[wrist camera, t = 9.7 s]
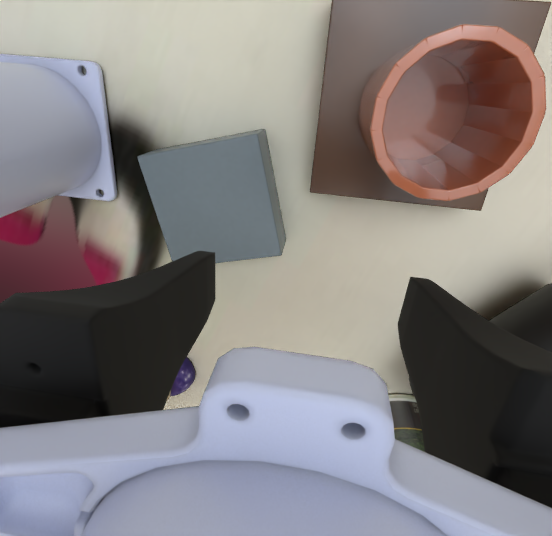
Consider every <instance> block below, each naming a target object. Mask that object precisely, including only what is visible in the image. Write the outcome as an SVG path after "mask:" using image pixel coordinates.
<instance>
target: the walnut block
mask: <svg viewBox="0 0 552 536" xmlns="http://www.w3.org/2000/svg"><path fill="white" fill-rule="evenodd" d="M550 5H551V2H543V1H526V0H332V7H331V15H330V24H329V32H328V41H327V49H326V58H325V67H324V75H323V84H322V92H321V101H320V110H319V118H318V127H317V135H316V144H315V152H314V161H313V170H312V178H311V187H310V192H311V193H320V194H330V195H339V196H348V197H358V198H367V199H376V200H386V201H395V202H404V203H413V204H423V205H432V206H441V207H451V208H460V209H469V210H479V211H480V210H481V209H482V206H483V203H484V200H485V197H486V194H487V191H488V188H487V189H486V190H484V191H482V192H479V193H478V194H474V195H471V196H467V197H463V198H459V199H455V200H451V201H441V200H431V199H422V198H418V197H415V196H413V195H412V194H410V193H408V192H406V191H405V190H403V189H401V188H399V187H397V186H396V185H394V184H393V183H392V182H391V181H390V179H389V178H388V176H387V175H386V174H385V172H384V171H383V170H382V168H381V167H380V165H379V164H378V163H377V161H376V160H375V158H374V156H373V155H372V153H371V151H370V150H369V148H368V146H367V145H366V143H365V141H364V139H363V136H362V133H361V129H360V125H359V104H360V100H361V96H362V93H363V90H364V88H365V86H366V84H367V82H368V80H369V79H370V77H371V76H372V74H373V73H374V72H375V70H376V69H377V68H378V67H379V66H380V65H381V64H382V63H383V62H385V61H386V60H387V59H389V58H390V57H391V56H392V55H393V54H395V53H396V52H398V51H400V50H402V49H404V48H406V47H408V46H410V45H412V44H414V43H416V42H418V41H420V40H422V39H424V38H426V37H428V36H431V35H433V34H436V33H439V32H441V31H444V30H447V29H450V28H452V27H455V26H458V25H463V24H473V25H488V26H498V27H501V28H503V29H504V30H506V31H508V32H509V33H511V34H512V35H514V36H516V37H517V38H519V39H521V40H522V41H524V42H525V43H527V44H528V45H529V46H530V48H531V50H532V52H533V54H534V52H535V49H536V46H537V43H538V40H539V37H540V34H541V31H542V29H543V26H544V23H545V20H546V17H547V14H548V11H549V8H550Z"/></svg>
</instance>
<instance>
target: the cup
mask: <svg viewBox="0 0 552 536" xmlns="http://www.w3.org/2000/svg"><path fill="white" fill-rule="evenodd" d="M545 110H546V92H545V76H544V72H543V70H542V68H541V67H540V65H539V63H538V61H537V59H536V57H535V55H534V54H533V52H532V50H531V48H530V46H529V45H528V44H527V43H525V42H524V41H522V40H521V39H519V38H517V37H516V36H514V35H512V34H511V33H509V32H508V31H506V30H504V29H503V28H501V27H498V26H488V25H473V24H463V25H458V26H455V27H452V28H450V29H447V30H444V31H441V32H439V33H436V34H433V35H431V36H428V37H426V38H424V39H422V40H420V41H418V42H416V43H414V44H412V45H410V46H408V47H406V48H404V49H402V50H400V51H398V52H396V53H395V54H393V55H392V56H391V57H390V58H389V59H387V60H386V61H385V62H383V63H382V64H381V65H380V66H379V67H378V68H377V69H376V70H375V72H374V73H373V74H372V76H371V77H370V79H369V80H368V82H367V84H366V86H365V88H364V90H363V93H362V96H361V100H360V104H359V125H360V129H361V133H362V136H363V139H364V141H365V143H366V145H367V146H368V148H369V150H370V151H371V153H372V155H373V156H374V158H375V160H376V161H377V163H378V164H379V165H380V167H381V168H382V170H383V171H384V172H385V174H386V175H387V176H388V178H389V179H390V181H391V182H392V183H393V184H394V185H396V186H397V187H399V188H401V189H403V190H405V191H406V192H408V193H410V194H412V195H413V196H415V197H418V198H422V199H431V200H441V201H451V200H455V199H459V198H463V197H467V196H471V195H474V194H478V193H479V192H482V191H484V190H486V189H487V188H489V187H490V186H492V185H493V184H495V183H496V182H498V181H499V180H501V179H503V178H504V177H506V176H507V175H509V173H511V172H512V170H513V169H514V168H515V167H516V166H517V164H518V163H519V162H520V161H521V160H522V158H523V157H524V156H525V155H526V153H527V152H528V151H529V150H530V149H531V147H532V145H533V144H534V142H535V139H536V136H537V134H538V131H539V128H540V126H541V123H542V120H543V118H544V115H545Z"/></svg>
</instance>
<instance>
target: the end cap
mask: <svg viewBox="0 0 552 536" xmlns="http://www.w3.org/2000/svg"><path fill="white" fill-rule="evenodd" d="M489 321H490V322H492V323H493V324H495V325H497V326H498V327H500V328H502V329H504V330H506V331H508V332H509V333H511V334H513V335H515V336H517V337H519V338H521V339H523V340H525V341H527V342H529V343H532V344H534V345H536V346H538V347H540V348H543V349H545V350H547V351H550V352H552V284H548V285H546V286H544V287H543V288H541V289H539V290H538V291H536V292H535V293H533V294H531V295H530V296H528V297H526V298H525V299H523V300H522V301H520V302H518V303H517V304H515V305H513V306H512V307H510V308H509V309H507V310H505V311H504V312H502V313H501V314H499V315H497V316H496V317H494V318H492V319H491V320H489ZM409 381H410V377H409ZM410 386H411V389H412V392H413V395H414V397H415V394H414V391H413V388H412V384H411V381H410ZM415 399H416V398H415Z"/></svg>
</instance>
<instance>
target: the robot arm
mask: <svg viewBox="0 0 552 536" xmlns="http://www.w3.org/2000/svg"><path fill="white" fill-rule="evenodd" d="M83 66H84V67H85V68H86V75H84V74H83V73H82V67H83ZM100 189H101V190H102V191H103V193H104V195H102V194H101V193H100V191H99V190H100ZM56 195H60V196H68V197H77V198H86V199H94V200H103V201H112V200H114V199H116V197H117V187H116V179H115V171H114V163H113V154H112V146H111V138H110V130H109V122H108V114H107V106H106V98H105V90H104V82H103V74H102V69H101V67H100V66H99V64H97V63H96V62H93V61H83V60H70V59H58V58H46V57H33V56H21V55H8V54H0V217H3V216H6V215H8V214H11V213H13V212H16V211H18V210H21V209H23V208H26V207H28V206H31V205H33V204H36V203H38V202H41V201H43V200H46V199H49V198H51V197H54V196H56ZM214 301H215V252H207V251H196V252H193V253H191V254H188V255H186V256H184V257H182V258H179V259H177V260H175V261H173V262H170V263H168V264H166V265H164V266H161V267H158V268H156V269H153V270H151V271H148V272H146V273H143V274H140V275H137V276H134V277H131V278H127V279H124V280H120V281H116V282H112V283H107V284H102V285H97V286H92V287H87V288H80V289H72V290H64V291H52V292H31V293H15V294H14V295H12V296H11V297H9V298H8V299H6V300H5V301H3V302H2V303H0V536H552V352H550V351H547V350H545V349H543V348H540V347H538V346H536V345H534V344H532V343H529V342H527V341H525V340H523V339H521V338H519V337H517V336H515V335H513V334H511V333H509V332H508V331H506V330H504V329H502V328H500V327H498V326H497V325H495V324H493V323H492V322H490V321H488V320H487V319H485V318H484V317H482V316H481V315H479V314H477V313H476V312H474V311H473V310H471V309H470V308H469V307H467V306H466V305H464V304H463V303H462V302H460V301H459V300H457V299H456V298H455V297H453V296H452V295H451V294H449V293H448V292H447V291H445V290H444V289H443V288H441V287H440V286H438V285H437V284H435V283H434V282H432V281H431V280H429V279H423V278H415V277H410V281H409V284H408V288H407V292H406V295H405V299H404V303H403V306H402V310H401V314H400V317H399V321H398V331H399V339H400V346H401V350H402V354H403V357H404V361H405V364H406V367H407V371H408V374H409V377H410V381H411V384H412V388H413V391H414V394H415V398H416V402H417V406H418V411H419V416H420V422H421V428H422V434H423V441H424V448H425V452H423V451H421V450H419V449H417V448H414V447H412V446H410V445H408V444H405V443H403V442H401V441H398V440H396V439H395V436H394V423H393V417H392V412H391V406H390V401H389V396H388V390H387V385H386V383H385V382H384V381H383V379H382V378H381V377H380V376H379V375H378V374H377V373H376V372H375V371H374V369H372V368H369V367H366V366H364V365H361V364H358V363H356V362H353V361H348V360H341V359H334V358H328V357H321V356H314V355H307V354H300V353H294V352H287V351H280V350H273V349H266V348H259V347H247V348H234V349H232V350H231V351H229V352H227V353H226V354H224V355H223V356H221V357H220V358H218V360H217V363H216V365H215V368H214V370H213V372H212V375H211V377H210V380H209V382H208V384H207V387H206V389H205V392H204V394H203V397H202V400H201V403H200V406H196V407H187V408H178V409H168V410H163V408H164V406H165V403H166V401H167V398H168V396H169V393H170V391H171V388H172V386H173V384H174V381H175V379H176V377H177V374H178V372H179V370H180V368H181V366H182V364H183V362H184V360H185V358H186V357H187V355H188V353H189V352H190V350H191V348H192V346H193V345H194V343H195V341H196V339H197V338H198V336H199V334H200V332H201V331H202V329H203V327H204V325H205V323H206V322H207V320H208V317H209V315H210V312H211V310H212V307H213V304H214Z"/></svg>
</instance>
